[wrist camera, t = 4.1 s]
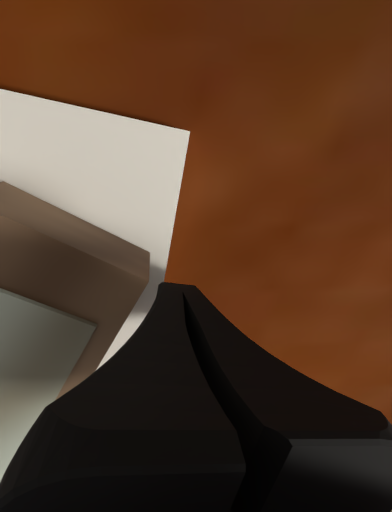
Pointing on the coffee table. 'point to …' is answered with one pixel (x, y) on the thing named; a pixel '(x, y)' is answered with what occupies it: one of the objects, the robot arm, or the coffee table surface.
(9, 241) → the frame
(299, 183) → the coffee table surface
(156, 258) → the wall board
